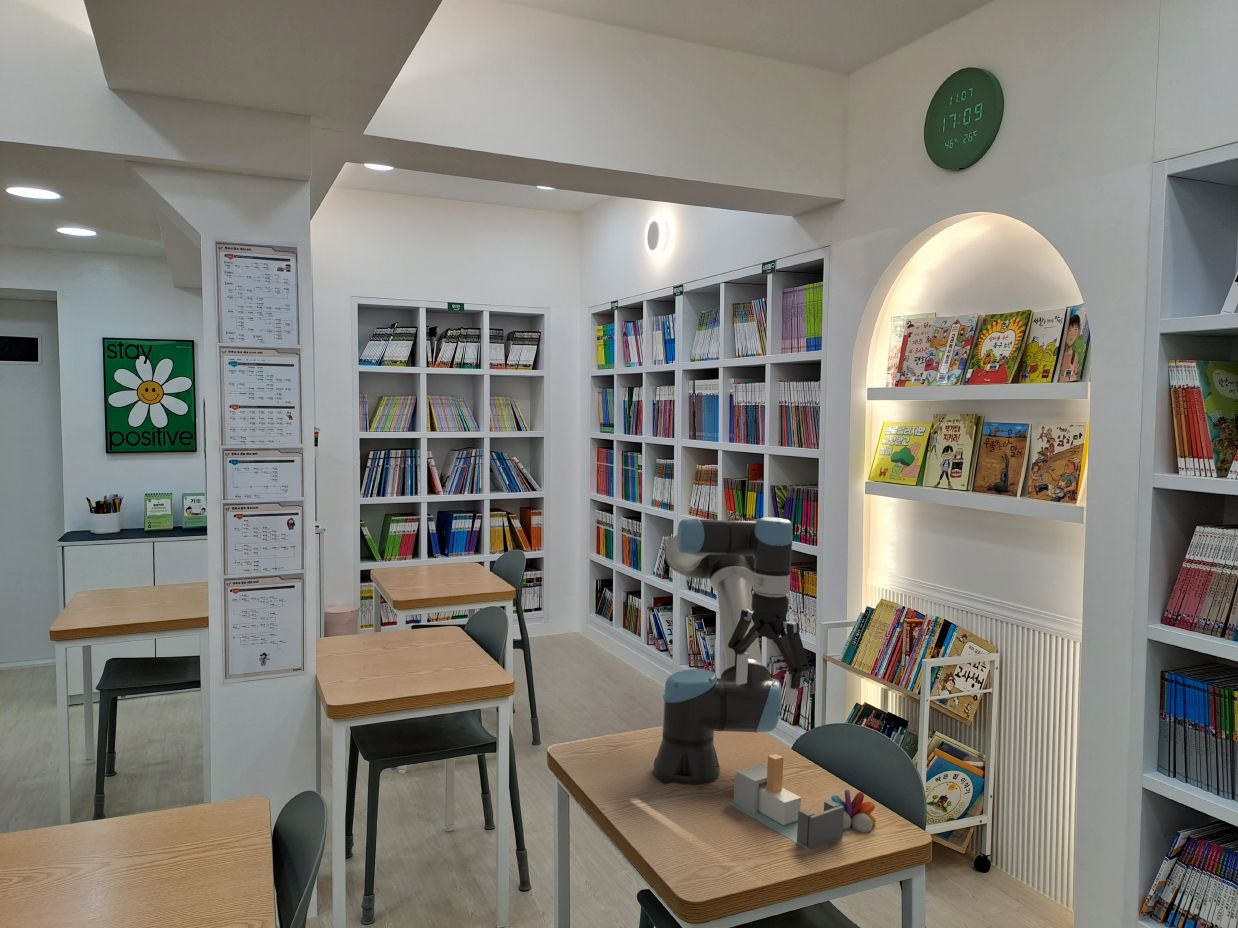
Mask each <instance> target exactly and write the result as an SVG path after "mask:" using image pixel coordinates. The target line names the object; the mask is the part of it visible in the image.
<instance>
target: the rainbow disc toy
mask: <svg viewBox="0 0 1238 928" xmlns="http://www.w3.org/2000/svg"><path fill="white" fill-rule="evenodd" d="M830 798H831V799H830V800H831V801H833V802H835V803H837V804H839V805H840V806H843V807H844V818H843V830H848V829H850V828H851V826H852V828H853V829H854V830H856V831H858V832H861V833H869V832H871V830H872V829H873V826H875V825H876V820H877V819H876V818H875V817H874V816H873V814H872V813H873V812H874V810H875V808H876V806H875V805H876V804H874V802H872V801H864V798H865V794H864V792H862V791H858V793H856V794H855V796H854V797H853V799H851V792H850V790H849V789H844V800H843V799H842V798H841V797H840V796H838V795H836V794H832V796H831V797H830Z"/></svg>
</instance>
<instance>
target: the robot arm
mask: <svg viewBox="0 0 1238 928" xmlns="http://www.w3.org/2000/svg"><path fill="white" fill-rule="evenodd" d="M793 533H794V532H793V523H792V522H791V520H789V519H787V518H786V519H785V518H782V517H774V516H773V517H770V516H768V517H765V516H764V517H760V518H755V519H754V518H753V519H751V520H718V519H717V520H716V519H699V518H690V519H689V518H688V519H687V518H686V519H685V518H684V519H681V520H680V521H679V522H678V526H677V535H674V536H673V537H671V538H670V539H669V541H668V542H667V543H666V545H665V548H664V557H665V559H664V560H665V561H666V564H667V565H668V566H669V567H670V568H671V570H672V571H674V572H676V573H677V574H679V575H682V576H685V577H688V578H692V579H705V580H709V584H710V586H711V588H712V589H713V590H714V591H716V593H717V594H716V595H717V600H718V610H719V611H718V612H719V618H720V626H721V627H720V628H721V635H722V637H721V638H722V644H723V653H724V654H723V655H724V661H725V662H724V663H725V668H724V669H723V670H722V672H721V674H720V678H719V677H718V676H717V674H716V673H715V672H714V671H712V670H710V669H709V670H708V669H703V668H702V669H701V668H693V669H692V668H691V669H684V670H680V671H677V672H675V673H673V674H671V675H669V677H668V678H667V679H666V681H665V685H664V691H663V692H664V693H663V696H662V697H663V698H662V699H663V720H662V740H661V742H660V745H659V749H658V752H657V755H656V757H655V759H654V761H653V771H652V773H653V776H654V777H655V778H656V779H657V780H659V782H662V783H664V784H666V785H669V784H673V783H674V784H679V785H686V786H699V785H705V784H709V783H712V782H714V781H716V780H717V779H718V778H719V777H720V774H721V766H720V762H719V760H718V755H717V752H716V747H715V744H714V736H715V732H733V733H734V732H739V733H740V732H741V733H755V734H757V733H762V732H763V733H765V732H766V733H767V732H769V733H770V732H772V731H774V730H775V729H776V728H777V727H778V726H777V725H778V723H779V720H780V716H781V709H782V699H783V697H782V686H781V685H782V684H781V682H780V680H779V679H776V678H772V677H771V671H770V669H769V668H768V667H767V666H765V665H764V664H763V661H762V655H761V654H762V653H761V647H760V640H759V637H762V638H763V637H764V638H767V640H772V641H773V643H774V644H775V645H776V646H777V647H778V650H779V652H780V654H781V656H782V657H783V659H784V662H785V664H786V666H787V668H788V670H789V671H787V672H786V674H785V676H786V677H785V693H784V694H785V695H784V704H785V705H787V706H789V705H792V704H795V703H797V699H798V698H797V697H798V696H797V695H798V689H800V687H801V674H802V673H805V672H806V673H807V672H808V671H810V670H811V667H810V664H809V660H808V657H807V654H806V651H805V648H804V645H803V642H802V638H801V635H800V624H799V622H798V621H793V622H789V621H787V614H788V612H789V602H790V600H789V599H790V597H789V595H788V594H789V593H790V591H791V589H790V588H791V568H792V567H791V565H792V553H793V551H792V550H793V549H792V547H793V540H794V535H793ZM751 588H752V589H751ZM752 590H753V592H752Z"/></svg>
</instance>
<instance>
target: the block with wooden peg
mask: <svg viewBox="0 0 1238 928" xmlns="http://www.w3.org/2000/svg"><path fill="white" fill-rule="evenodd" d="M783 773H784V756H782V755H780V754H777V753H774V754H769V755H768V756H767V782H763V783H760V784H759V786H758V807H757V811H759V812H761V813H763V814H765V815H766V816H768V817H770V818H772V819H773V820H775V821H777V822H779V823H780V824H782V825H786V824H789V823H792V822H795V821H798V810H801V805H802V804H801V803H802V797H801V796H799V795H798V794H796V793H793V792H791V791H790V790H787V789H785V788H784V787H783V775H784V774H783Z"/></svg>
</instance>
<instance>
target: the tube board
mask: <svg viewBox="0 0 1238 928" xmlns="http://www.w3.org/2000/svg"><path fill="white" fill-rule="evenodd" d="M767 767H768V765H765V764H763V763H762V764H758V765H755V766H750V767H748V768H747V767H746V768H744V769H740V770H736V773H734V781H733V782H734V784H733V785H734V786H733V787H734V789H733V801H732V802H731V803H728V804H729V805H730V806H732V807H733V808H735V809H737V810H739V811H741V812H742V813H744V814H746V815H747V816H749V817H751V818H753V819H754V820H756V821H757V822H760V823H761V824H763V825H764V826H766V827H768V828H769V829H772V830H773V831H775V832H777V833H779V834H780V835H782V836H784V838H788V839H789V840H790V841H792V842H794V843H795V844H798V845H799V846H801V847H803V848H805V849H806V850H808V851H811V850H813V849H815V848H818V847H820V846H824V845H826V844H829V843H832V842H834V841H837V840H839V839H841V838H842V839H843V838H845V836H844V834H843V832H844V829H843V818H844V807H843V806H840V805H839V804H837V803H835V802H833V801H832V799H828V800H824V802H823V811H822V812H819V813H814V812H812V811H810V810H808V809H806V808H800V810H798V821H795V822H792V823H789V824H786V825H782V824H780V823H779V822H777V821H775V820H773V819H772V818H770V817H768V816H766V815H765V814H763V813H761V812H759V811H757V807H758V786H759V784H760V783H763V782H767Z"/></svg>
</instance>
